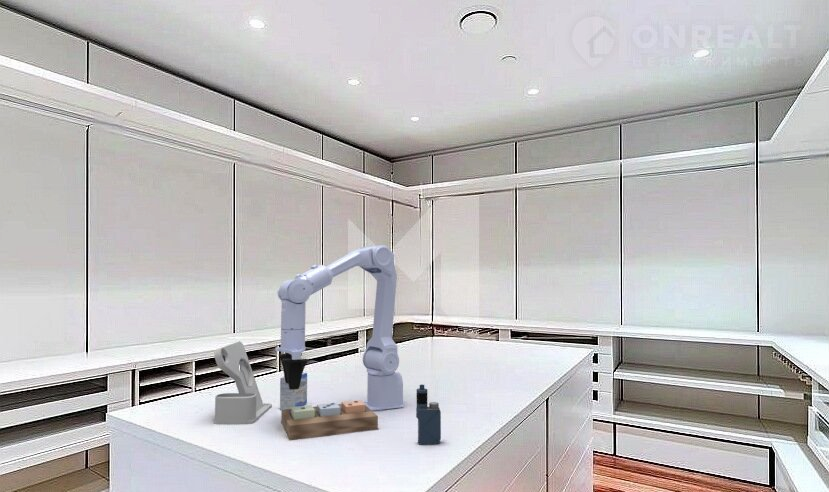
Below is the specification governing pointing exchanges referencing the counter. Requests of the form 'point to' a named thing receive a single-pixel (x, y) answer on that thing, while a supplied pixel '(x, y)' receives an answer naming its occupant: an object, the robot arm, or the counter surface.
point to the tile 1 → (302, 412)
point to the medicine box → (293, 394)
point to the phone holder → (248, 400)
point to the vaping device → (427, 419)
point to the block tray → (328, 424)
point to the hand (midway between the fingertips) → (292, 385)
